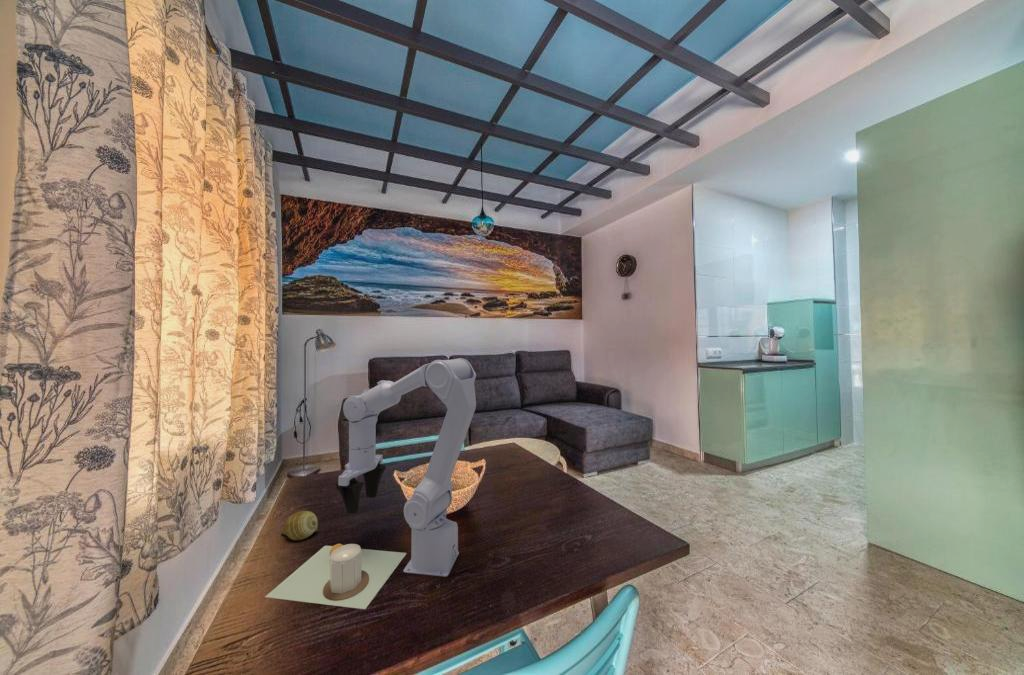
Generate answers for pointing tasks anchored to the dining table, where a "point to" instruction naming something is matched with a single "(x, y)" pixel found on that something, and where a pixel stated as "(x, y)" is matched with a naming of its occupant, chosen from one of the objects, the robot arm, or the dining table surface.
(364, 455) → the robot arm
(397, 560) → the placemat
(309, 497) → the dining table surface
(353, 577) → the cup
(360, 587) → the coaster
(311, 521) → the seashell
